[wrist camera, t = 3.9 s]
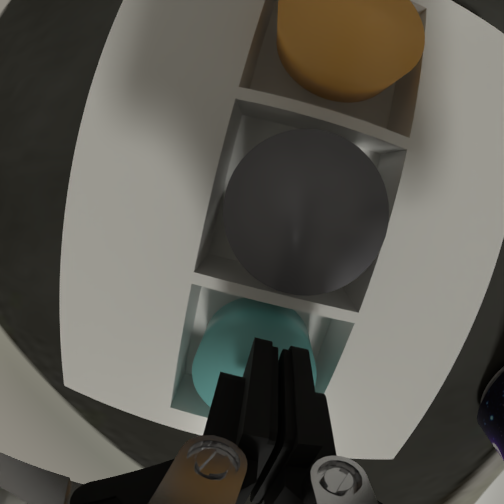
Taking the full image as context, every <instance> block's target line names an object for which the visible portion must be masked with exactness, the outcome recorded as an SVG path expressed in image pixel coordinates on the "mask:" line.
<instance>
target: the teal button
mask: <svg viewBox="0 0 504 504" xmlns="http://www.w3.org/2000/svg"><path fill="white" fill-rule="evenodd" d="M255 337H256V338H260V339H264V340H269V341H272V342H273V346H274V347H278V360H279V357H280V354H281V352H282V350H283V349H287V350H288V349H289V347H290V346H295V347H300V348H304V349H308V350H309V354H310V361H311V367H312V373H313V380H314V386H315V384H316V379H317V371H316V364H315V360H314V356H313V351H312V347H311V342H310V338H309V334H308V330H307V327H306V325H305V323H304V321H303V320H302V318H301V317H300V316H299V315H298V314H297V312H296V311H294V310H293V309H289V308H285V307H281V306H277V305H273V304H268V303H264V302H260V301H256V300H252V299H248V298H240V299H237V300H234V301H232V302H230V303H228V304H226V305H225V306H223V307H222V308H220V309H219V310H218V311H217V312H216V313H215V314H214V315H213V317H212V318H211V320H210V321H209V323H208V326H207V328H206V330H205V333H204V335H203V338H202V340H201V343H200V345H199V347H198V350H197V352H196V355H195V357H194V360H193V364H192V378H193V383H194V386H195V388H196V390H197V392H198V394H199V395H200V397H201V398H202V399H203V401H204V402H205V403H206V404H207V405H208V406H209V407H211V404H212V400H213V396H214V393H215V389H216V385H217V382H218V378H219V375H220V372H224V373H228V374H232V375H236V376H240V377H243V374H244V371H245V367H246V364H247V361H248V357H249V354H250V351H251V347H252V344H253V341H254V338H255Z"/></svg>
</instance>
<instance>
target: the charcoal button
mask: <svg viewBox="0 0 504 504" xmlns="http://www.w3.org/2000/svg"><path fill="white" fill-rule="evenodd" d="M223 220H224V228H225V232H226V237H227V239H228V242H229V245H230V247H231V249H232V251H233V253H234V255H235V256H236V258H237V259H238V261H239V262H240V263H241V265H242V266H243V267H244V268H245V269H246V270H247V271H248V272H249V273H250V274H251V275H252V276H253V277H254V278H256V279H257V280H258V281H260V282H261V283H263V284H265V285H266V286H268V287H270V288H273V289H275V290H277V291H280V292H284V293H287V294H293V295H303V296H310V295H319V294H324V293H329V292H332V291H334V290H337V289H339V288H342V287H344V286H346V285H348V284H349V283H351V282H352V281H354V280H355V279H356V278H358V277H359V276H360V275H361V274H362V273H363V272H364V271H365V270H366V269H367V268H368V267H369V266H370V265H371V264H372V262H373V261H374V259H375V258H376V256H377V255H378V253H379V251H380V249H381V247H382V245H383V242H384V239H385V237H386V233H387V228H388V222H389V202H388V196H387V191H386V188H385V184H384V182H383V180H382V177H381V175H380V173H379V171H378V170H377V168H376V166H375V165H374V163H373V162H372V161H371V160H370V158H369V157H368V156H367V155H366V154H365V153H364V152H363V151H362V150H361V149H360V148H359V147H357V146H356V145H355V144H353V143H352V142H351V141H349V140H347V139H345V138H343V137H341V136H339V135H336V134H334V133H331V132H327V131H323V130H318V129H295V130H289V131H285V132H282V133H279V134H276V135H273V136H271V137H269V138H267V139H265V140H264V141H262V142H261V143H259V144H258V145H256V146H255V147H254V148H253V149H251V150H250V151H249V152H248V153H247V154H246V155H245V156H244V157H243V159H242V160H241V161H240V162H239V164H238V165H237V167H236V168H235V170H234V171H233V174H232V176H231V178H230V180H229V182H228V185H227V189H226V192H225V197H224V203H223Z"/></svg>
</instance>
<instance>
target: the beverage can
mask: <svg viewBox="0 0 504 504" xmlns="http://www.w3.org/2000/svg"><path fill="white" fill-rule="evenodd" d="M477 420H478V424H479V425H480V427H481V428H482V430H483V431H484V432H485V434H486V435H487V437H488V438H489V440H490V441H491V443H492V444H493V446H494V447H495V449H496V450H497V451H498V453H499V455H500V456H501V458H502V459H503V461H504V367H503V368H501V369H500V370H499V371H498V372H497V373H496V374H495V375H494V377H493V378H492V379H491V380H490V382H489V383H488V385H487V386H486V388H485V390H484V392H483V395H482V398H481V404H480V407H479V411H478V416H477Z"/></svg>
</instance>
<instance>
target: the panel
mask: <svg viewBox="0 0 504 504" xmlns="http://www.w3.org/2000/svg"><path fill="white" fill-rule="evenodd" d="M278 1H279V0H123V2H122V4H121V7H120V9H119V11H118V13H117V16H116V18H115V21H114V23H113V25H112V28H111V30H110V33H109V35H108V38H107V41H106V43H105V46H104V49H103V51H102V54H101V57H100V60H99V63H98V66H97V69H96V72H95V75H94V78H93V81H92V85H91V88H90V91H89V95H88V98H87V102H86V106H85V109H84V113H83V117H82V121H81V125H80V129H79V134H78V138H77V143H76V148H75V153H74V158H73V163H72V168H71V174H70V180H69V186H68V193H67V200H66V208H65V217H64V226H63V237H62V250H61V267H60V337H61V354H62V367H63V377H64V386H66V387H69V388H71V389H73V390H75V391H77V392H79V393H82V394H84V395H86V396H88V397H91V398H93V399H95V400H98V401H100V402H102V403H105V404H107V405H110V406H112V407H115V408H118V409H120V410H123V411H125V412H128V413H131V414H134V415H136V416H139V417H142V418H145V419H148V420H151V421H154V422H157V423H160V424H163V425H166V426H170V427H173V428H176V429H180V430H183V431H187V432H191V433H194V434H198V435H202V436H203V433H204V429H205V426H206V422H207V418H208V415H209V411H210V407H209V406H208V405H207V404H206V403H205V402H204V401H203V399H202V398H201V397H200V395H199V394H198V392H197V390H196V388H195V386H194V383H193V378H192V364H193V360H194V357H195V355H196V352H197V350H198V347H199V345H200V343H201V340H202V338H203V335H204V333H205V330H206V328H207V326H208V323H209V321H210V320H211V318H212V317H213V315H214V314H215V313H216V312H217V311H218V310H219V309H220V308H222V307H223V306H225V305H226V304H228V303H230V302H232V301H234V300H237V299H240V298H248V299H252V300H256V301H260V302H264V303H268V304H273V305H277V306H281V307H285V308H289V309H293V310H294V311H296V312H297V314H298V315H299V316H300V317H301V318H302V320H303V321H304V323H305V325H306V327H307V330H308V334H309V338H310V342H311V347H312V351H313V356H314V360H315V364H316V371H317V379H316V384H315V392H318V393H324V394H325V396H326V399H327V404H328V409H329V415H330V421H331V426H332V432H333V438H334V444H335V449H336V455H337V456H342V457H345V458H354V459H393V458H394V457H395V456H396V454H397V453H398V452H399V450H400V449H401V448H402V446H403V445H404V443H405V442H406V441H407V439H408V438H409V436H410V435H411V434H412V432H413V431H414V429H415V428H416V426H417V425H418V423H419V422H420V420H421V419H422V417H423V416H424V414H425V413H426V411H427V409H428V408H429V406H430V405H431V403H432V401H433V400H434V398H435V396H436V395H437V393H438V391H439V390H440V388H441V386H442V384H443V383H444V381H445V379H446V377H447V375H448V374H449V372H450V370H451V368H452V366H453V364H454V362H455V360H456V358H457V356H458V354H459V352H460V350H461V348H462V346H463V344H464V342H465V340H466V338H467V336H468V334H469V331H470V329H471V327H472V325H473V322H474V320H475V318H476V315H477V313H478V310H479V308H480V306H481V303H482V301H483V298H484V295H485V293H486V290H487V287H488V285H489V282H490V279H491V276H492V273H493V270H494V267H495V264H496V261H497V258H498V255H499V251H500V248H501V245H502V241H503V238H504V34H503V33H502V32H500V31H499V30H497V29H496V28H495V27H493V26H492V25H490V24H489V23H487V22H486V21H484V20H483V19H481V18H480V17H478V16H477V15H475V14H473V13H472V12H470V11H469V10H467V9H465V8H464V7H462V6H460V5H458V4H457V3H455V2H453V1H451V0H410V1H411V2H412V4H413V5H414V7H415V8H416V10H417V12H418V14H419V16H420V18H421V21H422V24H423V27H424V33H425V45H424V51H423V53H422V56H421V58H420V60H419V62H418V63H417V65H416V66H415V67H414V68H413V69H412V70H411V71H409V72H408V73H407V74H406V75H404V76H403V77H401V78H400V79H399V80H397V81H396V82H394V83H393V84H392V85H390V86H389V87H388V88H386V89H385V90H383V91H382V92H381V93H379V94H378V95H376V96H374V97H372V98H370V99H367V100H364V101H360V102H352V103H343V102H335V101H331V100H327V99H324V98H321V97H319V96H317V95H315V94H313V93H311V92H309V91H307V90H306V89H304V88H303V87H302V86H300V85H299V84H298V83H297V82H296V81H295V80H294V79H293V78H292V77H291V76H290V75H289V74H288V72H287V71H286V70H285V68H284V66H283V65H282V63H281V60H280V58H279V55H278V51H277V45H276V41H277V17H278ZM295 129H318V130H323V131H327V132H331V133H334V134H336V135H339V136H341V137H343V138H345V139H347V140H349V141H351V142H352V143H353V144H355V145H356V146H357V147H359V148H360V149H361V150H362V151H363V152H364V153H365V154H366V155H367V156H368V157H369V158H370V160H371V161H372V162H373V163H374V165H375V166H376V168H377V170H378V171H379V173H380V175H381V177H382V180H383V182H384V184H385V188H386V191H387V196H388V202H389V222H388V228H387V233H386V237H385V239H384V242H383V245H382V247H381V249H380V251H379V253H378V255H377V256H376V258H375V259H374V261H373V262H372V264H371V265H370V266H369V267H368V268H367V269H366V270H365V271H364V272H363V273H362V274H361V275H360V276H359V277H358V278H356V279H355V280H354V281H352V282H351V283H349V284H348V285H346V286H344V287H342V288H339V289H337V290H334V291H332V292H329V293H324V294H319V295H310V296H303V295H293V294H287V293H284V292H280V291H277V290H275V289H273V288H270V287H268V286H266V285H265V284H263V283H261V282H260V281H258V280H257V279H256V278H254V277H253V276H252V275H251V274H250V273H249V272H248V271H247V270H246V269H245V268H244V267H243V266H242V265H241V263H240V262H239V261H238V259H237V258H236V256H235V255H234V253H233V251H232V249H231V247H230V245H229V242H228V239H227V237H226V232H225V228H224V220H223V203H224V197H225V192H226V189H227V185H228V182H229V180H230V178H231V176H232V174H233V171H234V170H235V168H236V167H237V165H238V164H239V162H240V161H241V160H242V159H243V157H244V156H245V155H246V154H247V153H248V152H249V151H250V150H251V149H253V148H254V147H255V146H256V145H258V144H259V143H261V142H262V141H264V140H265V139H267V138H269V137H271V136H273V135H276V134H279V133H282V132H285V131H289V130H295Z"/></svg>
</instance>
